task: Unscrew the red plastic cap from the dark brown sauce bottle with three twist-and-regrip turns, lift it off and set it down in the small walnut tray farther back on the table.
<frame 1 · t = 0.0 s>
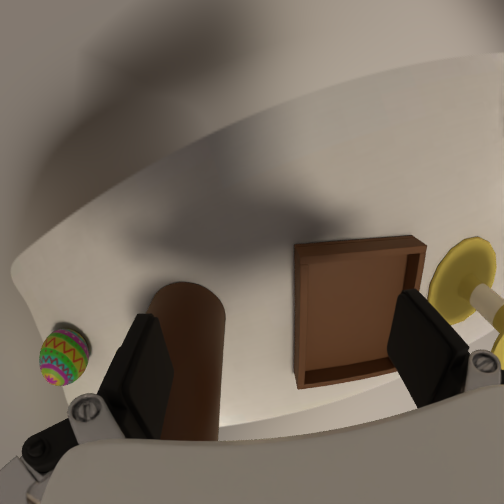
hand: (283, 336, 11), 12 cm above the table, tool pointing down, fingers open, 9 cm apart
bottle: (187, 315, 24), on the table
egg: (74, 340, 25), on the table
tray: (351, 310, 24), on the table
candle: (463, 282, 24), on the table
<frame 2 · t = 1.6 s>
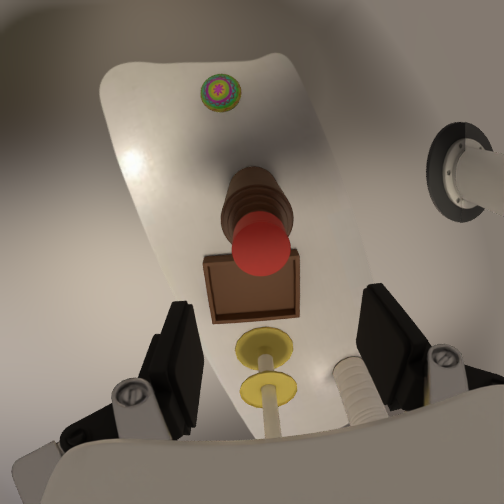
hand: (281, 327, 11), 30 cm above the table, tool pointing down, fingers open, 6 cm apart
bottle: (253, 190, 39), on the table
egg: (222, 95, 34), on the table
cap: (261, 248, 20), point 21 cm above the table, screwed on, not yet turned
tray: (253, 284, 44), on the table
candle: (264, 348, 49), on the table
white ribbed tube: (343, 369, 52), on the table
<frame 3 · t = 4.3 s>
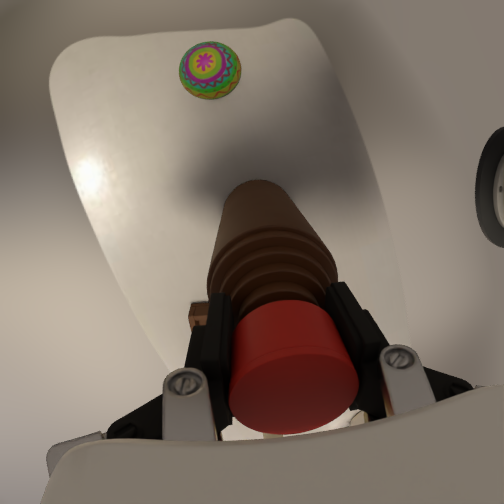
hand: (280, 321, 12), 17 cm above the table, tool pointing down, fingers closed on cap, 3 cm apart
bottle: (258, 214, 27), on the table
egg: (213, 76, 22), on the table
cap: (294, 393, 8), point 20 cm above the table, screwed on, not yet turned, touching gripper
tray: (257, 337, 32), on the table
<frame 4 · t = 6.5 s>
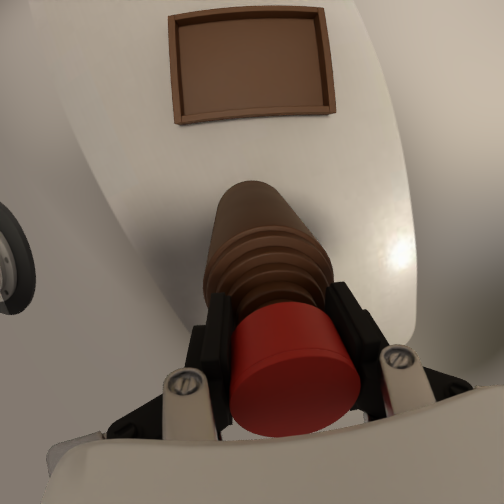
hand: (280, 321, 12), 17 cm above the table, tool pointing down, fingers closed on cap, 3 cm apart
bottle: (251, 215, 27), on the table
cap: (295, 396, 8), point 21 cm above the table, turned 179° so far, risen 0.2 cm, still on its thread, touching gripper
tray: (250, 63, 22), on the table
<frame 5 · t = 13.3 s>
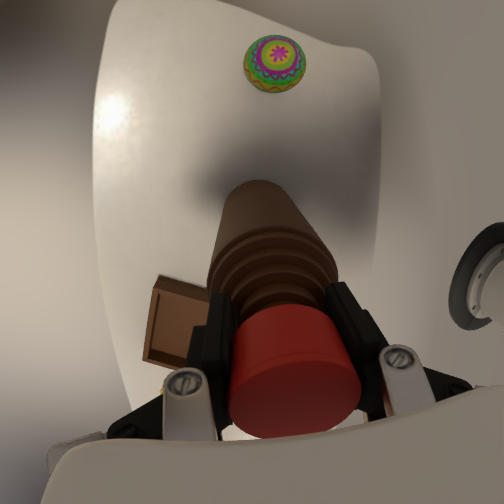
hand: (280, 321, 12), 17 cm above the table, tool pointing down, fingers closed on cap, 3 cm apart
bottle: (258, 214, 27), on the table
egg: (271, 70, 22), on the table
cap: (295, 400, 8), point 21 cm above the table, turned 201° so far, risen 0.2 cm, still on its thread, touching gripper
tray: (209, 331, 32), on the table
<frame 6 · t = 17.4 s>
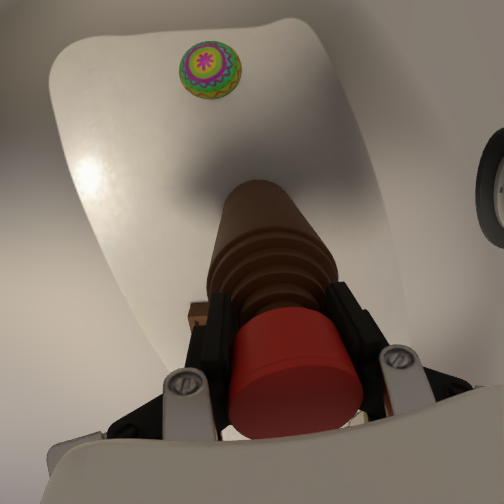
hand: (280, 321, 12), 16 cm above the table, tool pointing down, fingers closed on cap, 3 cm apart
bottle: (258, 214, 27), on the table
egg: (213, 76, 22), on the table
cap: (296, 404, 8), point 21 cm above the table, turned 359° so far, risen 0.3 cm, still on its thread, touching gripper
tray: (256, 338, 32), on the table
when the fingers open (2 cm above the table, at t = 27.2 s): cap drops 3 cm, resting on tray.
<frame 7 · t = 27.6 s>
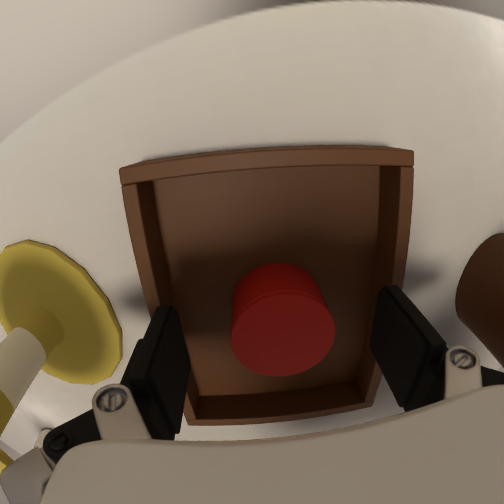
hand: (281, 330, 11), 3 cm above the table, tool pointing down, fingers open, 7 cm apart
bottle: (490, 280, 14), on the table
cap: (283, 335, 11), point 3 cm above the table, off its thread, touching tray
tray: (275, 296, 13), on the table
candle: (50, 318, 14), on the table
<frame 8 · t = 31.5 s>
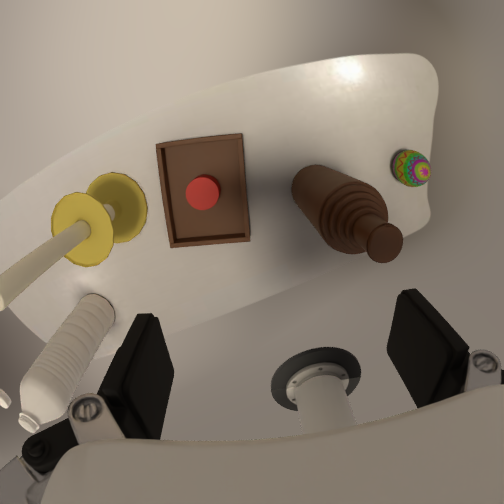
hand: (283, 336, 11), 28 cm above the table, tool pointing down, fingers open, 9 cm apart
bottle: (315, 189, 37), on the table
egg: (402, 166, 36), on the table
cap: (202, 193, 34), point 3 cm above the table, off its thread, touching tray
tray: (205, 189, 37), on the table
candle: (114, 208, 37), on the table
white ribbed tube: (94, 304, 43), on the table
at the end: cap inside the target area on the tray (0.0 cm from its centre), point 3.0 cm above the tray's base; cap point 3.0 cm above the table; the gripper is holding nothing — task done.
